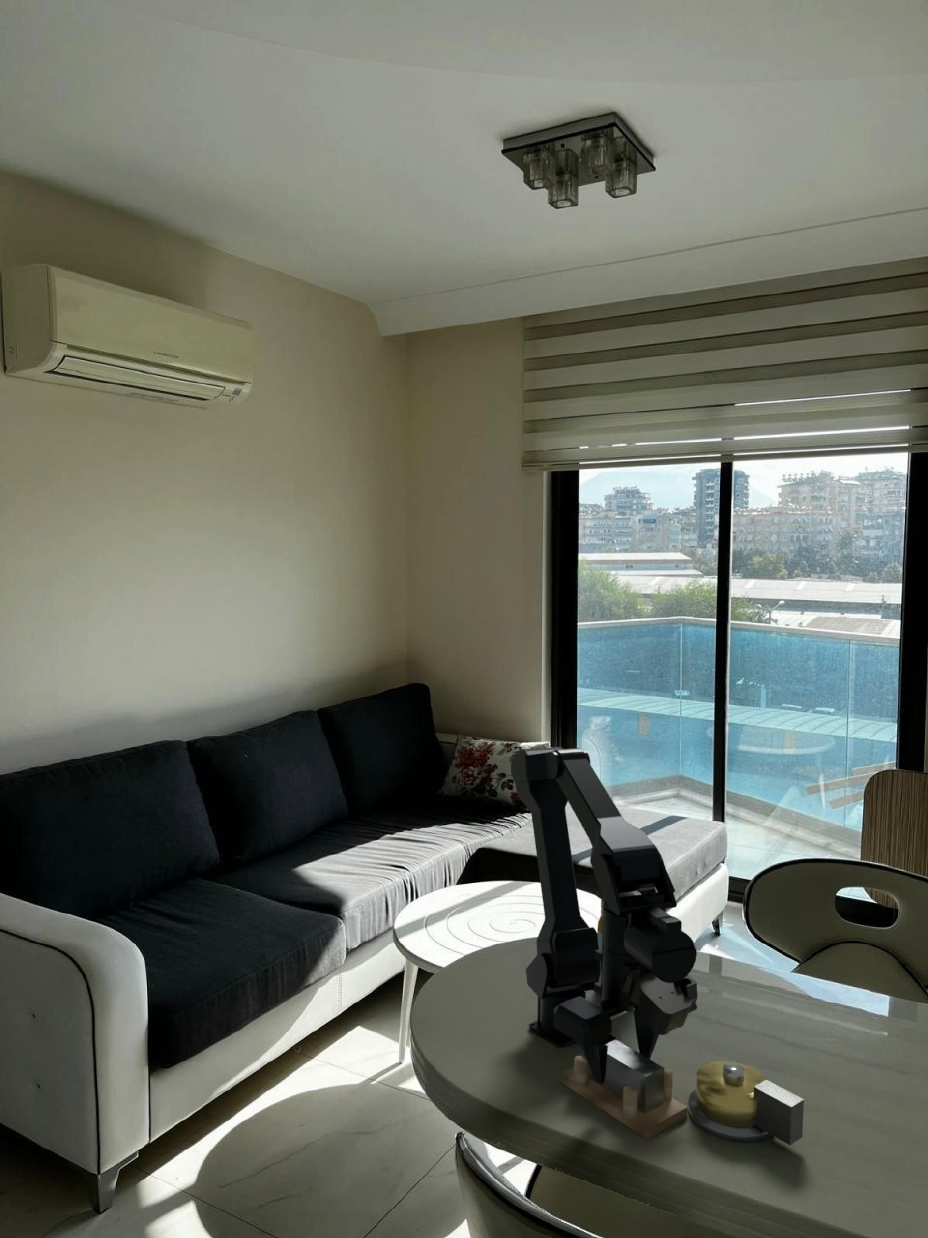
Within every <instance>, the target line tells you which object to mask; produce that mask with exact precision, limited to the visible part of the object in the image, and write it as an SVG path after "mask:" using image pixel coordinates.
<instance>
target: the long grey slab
mask: <svg viewBox="0 0 928 1238" xmlns="http://www.w3.org/2000/svg"><path fill="white" fill-rule="evenodd" d="M617 1040H618V1039H616V1040H615V1041H613V1042H612V1043H611V1044H609V1045H608V1052H607V1065H606V1075H605V1080H604V1083H603V1084H600V1083H599V1082H597V1081H596V1080H595V1078H594V1076H593V1073H592V1071H591V1069H590V1067H589V1064H588V1074H587V1078H589V1079H591V1080H592V1081H594V1082H595V1083H597V1084H598V1085H600V1086H602V1087H603V1088H605V1089H606V1090H608V1091H609V1092H611V1093H613V1094H614V1095H616V1096H617V1097H619V1098H620V1099H622V1100H623V1089H624V1087H626V1086H633V1087H635V1088H636V1089H637V1090H638V1091H637V1109H638V1110H639V1111H641V1112H642V1113H644V1114H646V1113H648V1112H650V1111H652V1110H654V1109H656V1108H658V1107H660V1106H661V1105H663V1099H664V1068H665V1067H664V1066H662V1065H660V1064H659V1063H657V1062H655V1061H653V1060H652V1059H651V1058H650V1059H648V1058H647V1057H645V1056H643V1055H641V1054H640V1053H639V1051H636V1050H635V1049H632V1048H631V1047H629V1046H627V1045H625V1044H624V1043H623V1042H622V1043H623V1044H622V1043H620V1042H619V1041H620V1040H618V1041H617ZM583 1056H584V1057H585V1055H584V1054H583Z"/></svg>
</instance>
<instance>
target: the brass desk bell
mask: <svg viewBox="0 0 928 1238" xmlns="http://www.w3.org/2000/svg"><path fill="white" fill-rule="evenodd" d="M737 1063H738V1062H737ZM737 1063H726V1064H724V1065H723V1078H724V1080H726V1081H727V1082H729V1083H733V1084H740V1083H742V1082H744V1068H743V1067H742V1066H741V1065H739V1064H737ZM687 1110H688V1114H689V1116H690V1118H691V1120H692V1121H693V1123H694V1124H695V1125H697V1126H698V1127H699V1128H700V1129H701V1130H702V1131H704V1132H706V1133H708V1134H709V1135H712V1136H714V1137H716V1138H718V1139H722V1140H725V1141H729V1142H730V1141H731V1142H737V1143H755V1142H756V1143H757V1142H761V1141H764V1140H766V1139H768V1138H770V1137H771V1136H772V1135H771V1134H769V1133H767V1132H766V1131H764V1130H762V1129H761V1128H759V1127H757V1126H751V1127H736V1126H730V1125H726V1124H723V1123H720V1122H717V1121H715V1120H713V1119H711V1118H709V1117H708V1116H706V1115H705V1114H704V1113H703V1112H702V1111H701V1110H700V1109H699V1108H698V1106H697V1103H696V1088H695V1089H694V1090H693V1091H692V1092H690V1094H689V1098H688V1107H687Z"/></svg>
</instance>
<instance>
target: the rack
mask: <svg viewBox="0 0 928 1238" xmlns="http://www.w3.org/2000/svg"><path fill="white" fill-rule="evenodd" d="M616 1040H617V1041H619V1042H620V1043H622V1044H624V1043H623V1042H622V1041H621V1040H618V1039H616ZM673 1073H674V1072H673V1071H672V1070H671V1069H670V1068H666V1067H664V1099H663V1105H661V1106H660V1107H658V1108H656V1109H654V1110H652V1111H650V1112H648V1113H646V1114H644V1113H642V1112H641V1111H639V1110H638V1109H637V1091H638V1090H637V1089H636V1088H635V1087H633V1086H626V1087H624V1089H623V1100H622V1099H620V1098H619V1097H617V1096H616V1095H614V1094H613V1093H611V1092H609V1091H608V1090H606V1089H605V1088H603V1087H602V1086H600V1085H598V1084H597V1083H595V1082H594V1081H592V1080H591V1079H589V1078H587V1074H588V1062H587V1060H586V1057H584V1055H577V1056H575V1057H574V1066H573V1067H571V1068H569V1069H567V1070H565V1071H562V1072H561V1074H560V1076H561V1077H560V1082H561V1083H562V1084H564V1086H566V1087H568V1088H569V1089H571V1090H573V1091H574V1092H575V1093H577V1094H578V1095H579V1096H581V1097H582V1098H584V1099H586V1100H588V1101H589V1102H590V1103H591V1104H593V1105H595V1106H596V1107H598V1108H599V1109H601V1110H602V1111H604V1112H606V1113H607V1114H609V1116H611V1117H613V1118H614V1119H616V1120H617V1121H619V1122H620V1123H622V1124H623V1125H625V1126H626V1127H628V1128H630V1129H631V1130H632V1131H634V1132H636V1133H637V1134H638V1135H641V1136H642V1137H643V1138H644V1139H646V1140H648V1139H650V1138H652V1137H653V1136H655V1135H657V1134H659V1133H661V1132H663V1131H665V1130H666V1129H668V1128H670V1127H672V1126H673V1125H675V1124H677V1123H678V1122H680V1121H682V1120H684V1119H686V1118H688V1106H687V1105H685V1104H683V1103H682V1102H680V1101H678V1100H676V1099H675V1098H674V1097H673V1082H674V1081H673V1079H674V1078H673V1077H674V1076H673V1075H674V1074H673Z"/></svg>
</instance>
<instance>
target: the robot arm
mask: <svg viewBox="0 0 928 1238" xmlns="http://www.w3.org/2000/svg"><path fill="white" fill-rule="evenodd" d="M510 774H511V777H512V780H513V782H514V784H515V789H516V794H517V796H518V798H519V799H520V800H521V802H522V803H523V804H524V805H525V807H526V808H527V810H528V811H529V812H530V815H531V821H532V829H533V837H534V844H535V853H536V858H537V859H536V860H537V866H538V875H539V883H540V890H541V897H542V904H543V912H544V921H543V922H542V925H541V928H540V930H539V933H538V936H537V938H536V942H535V943H536V956H535V957H534V958H533V960H532V961H531V962H530V963H529V964H528V966H527V967H526V968H525V974H526V975H525V976H526V984H527V986H528V987H529V988H530V989H531V990H532V991H533V993H534V994H535V995H536V996H537V1016H536V1017H537V1020H534V1021H533V1022H530V1023H529V1024H528V1027H529V1029H530V1030H531V1031H533V1032H534V1033H535V1034H538V1035H539V1036H541V1037H543V1038H544V1039H546V1040H548V1041H549V1042H551V1043H552V1044H554V1045H555V1046H557V1047H558V1048H559V1047H560V1048H561V1047H564V1046H567V1045H569V1044H571V1043H573V1042H577V1043H578V1044H579V1046H580V1049H581V1050H582V1051H581V1052H583V1056H584V1055H585V1057H586V1060H587V1062H588V1064H589V1067H590V1069H591V1071H592V1073H593V1076H594V1078H595V1080H596V1081H597V1082H599V1083H600V1084H603V1083H604V1080H605V1075H606V1065H607V1052H608V1045H609V1044H611V1043H612V1042H613V1041H615V1040H617V1037H616V1036H614V1035H612V1034H611V1033H612V1031H613V1021H612V1020H613V1019H615V1018H619V1017H620V1016H622V1015H625V1014H627V1013H631V1012H632V1013H633V1019H634V1025H635V1033H636V1041H637V1048H638V1053H640V1054H641V1055H643V1056H645V1057H647V1058H648V1059H650V1060H651V1058H652V1054H653V1052H654V1049H655V1047H656V1044H657V1042H658V1040H659V1036H665V1035H667V1034H669V1033H670V1032H672V1031H674V1030H677V1029H680V1028H681V1029H682V1027H684V1025H685V1023H686V1020H687V1017H688V1016H689V1014H690V1013H692V1012H694V1011H696V1010H698V1006H697V1003H696V1002H697V1000H698V984H697V981H696V980H695V979H694V978H692V976H690V975H689V974H690V973H691V972H692V970H693V969H694V966H695V963H696V962H697V961H696V960H697V952H698V951H697V948H696V946H695V943H694V941H693V939H692V937H691V936H690V935H688V934H687V933H686V932H685V931H683V930H682V925H683V922H682V920H681V919H680V918H677V916H673V915H670V914H669V913H667V912H666V910H667V909H673V908H677V906H678V904H677V900H676V897H675V892H676V890H675V887H674V885H673V883H672V879H671V877H670V874H669V873H668V871H667V868H666V865H665V861H664V859H663V856H662V854H661V852H660V850H659V849H658V848H657V846H656V844H654V843H653V841H652V840H651V839H650V838H649V837H648V835H647V834H646V833H645V832H644V831H643V830H642V829H640V828H638V827H637V826H635V825H633V824H631V823H630V822H627V821H626V820H625V818H624V817H623V815H622V814H621V812H620V810H619V809H618V808H617V806H616V804H615V802H614V801H613V799H612V798H611V796H610V794H609V793H608V791H607V789H606V787H605V786H604V785H603V782H601V780H600V778H599V776H598V775H597V773H596V772H595V770H594V768H593V767H592V765H591V758H590V755H589V753H588V751H587V750H586V749H582V748H579V747H575V748H574V747H573V748H563V747H562V746H556V747H555V746H553V747H552V746H551V747H537V748H525V749H524V748H523V749H519V751H518V752H517V754H516V757H513V758H512V759H511V763H510ZM567 804H569V806H570V808H571V809H572V811H573V813H574V815H575V816H576V818H577V820H578V822H579V823H580V825H581V827H582V829H583V830H584V832H585V834H586V836H587V838H588V839H589V843H590V844H591V853H590V858H589V859H590V860H589V862H590V865H591V867H592V870H593V874H594V878H595V880H596V882H597V884H598V886H599V889H598V890H597V891H596V892H595V894H596V896H597V898H598V899H600V901H601V900H603V901H604V903H603V937H602V948H601V949H599V946H598V934H597V930H596V929H595V927H594V926H591V927H590V926H589V925H588V923H587V922H586V921H585V920H584V918H583V917H582V915H581V912H580V904H579V896H578V889H577V884H576V875H575V869H574V862H573V855H572V854H573V853H572V849H571V848H572V847H571V839H570V835H569V834H570V833H569V828H568V827H569V826H568V820H567V813H566V806H567ZM653 889H655V890H656V891H655V892H650V893H648V892H647V893H640V894H641V895H636V894H634V893H633V891H637V892H641V891H646V890H647V891H648V890H653ZM601 970H602V973H601ZM600 974H601V981H599V978H600ZM588 991H589V992H590V991H593V992H594V993H596V994H597V995H600V996H601V999H602V1001H600V1002H597V1003H593V1002H591V1001H589V1000H588V999H587V992H588Z"/></svg>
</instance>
